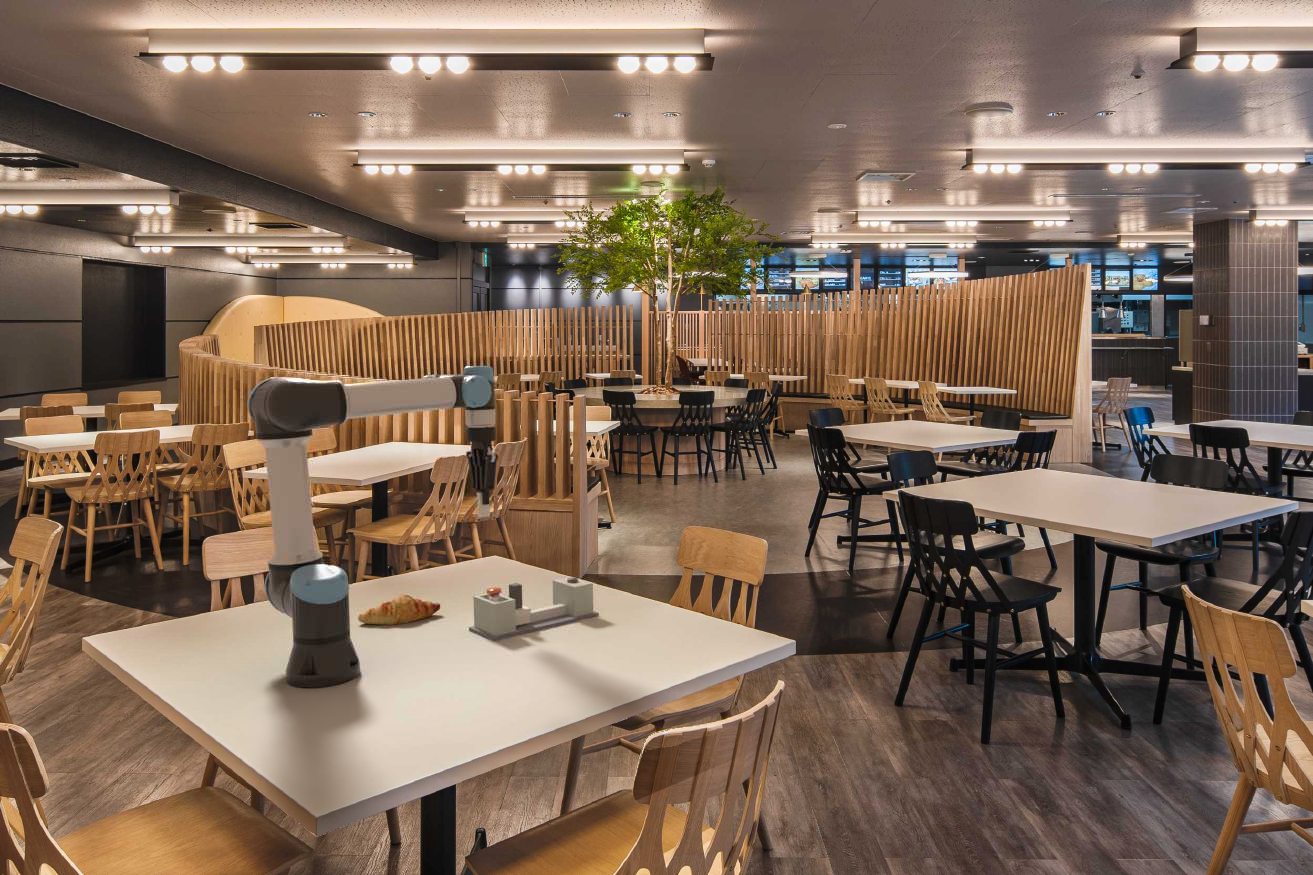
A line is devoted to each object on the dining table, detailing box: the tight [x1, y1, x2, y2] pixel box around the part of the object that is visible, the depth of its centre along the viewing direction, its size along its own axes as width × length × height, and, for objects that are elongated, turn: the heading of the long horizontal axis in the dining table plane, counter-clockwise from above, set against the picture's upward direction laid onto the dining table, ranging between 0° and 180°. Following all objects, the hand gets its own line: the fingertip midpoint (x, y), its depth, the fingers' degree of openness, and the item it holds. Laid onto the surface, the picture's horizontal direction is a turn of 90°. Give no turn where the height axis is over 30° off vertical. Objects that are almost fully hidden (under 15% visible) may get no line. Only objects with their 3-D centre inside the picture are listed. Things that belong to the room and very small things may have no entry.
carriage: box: [508, 582, 532, 626], centre depth 232 cm, size 5×6×10 cm
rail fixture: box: [468, 576, 600, 642], centre depth 236 cm, size 32×12×10 cm, turn 131°
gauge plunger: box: [486, 587, 502, 603], centre depth 228 cm, size 4×4×9 cm
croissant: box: [357, 594, 441, 626], centre depth 240 cm, size 21×10×8 cm
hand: (484, 516), depth 237 cm, fingers closed
